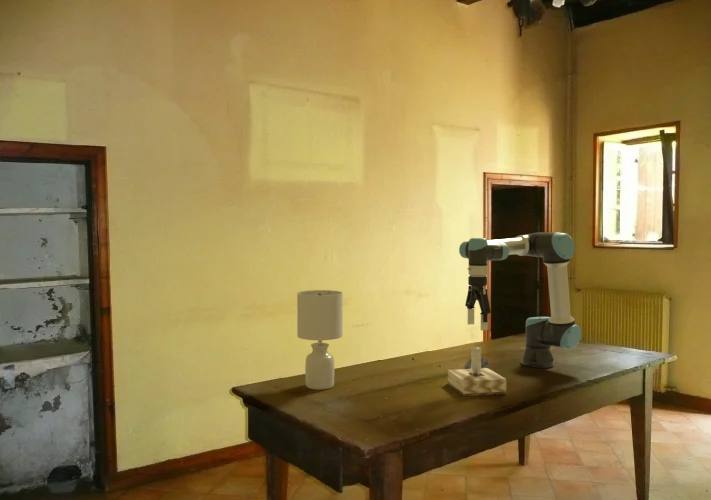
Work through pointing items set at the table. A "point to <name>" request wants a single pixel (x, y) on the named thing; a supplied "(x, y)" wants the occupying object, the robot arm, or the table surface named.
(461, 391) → the bore block
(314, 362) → the lamp
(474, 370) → the pin
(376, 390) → the table surface
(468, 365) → the rock
